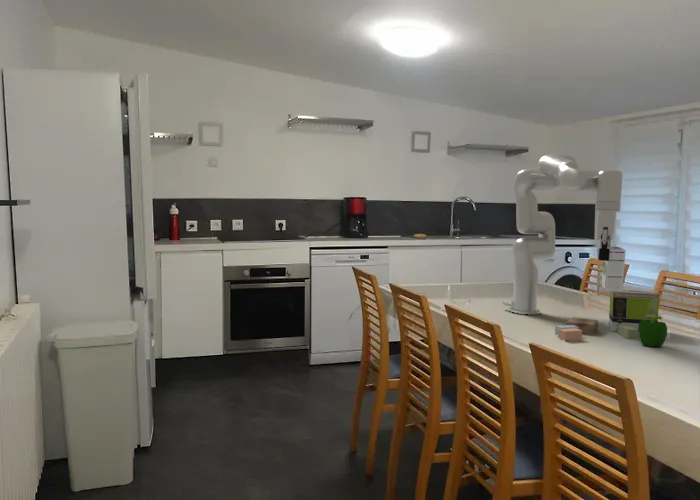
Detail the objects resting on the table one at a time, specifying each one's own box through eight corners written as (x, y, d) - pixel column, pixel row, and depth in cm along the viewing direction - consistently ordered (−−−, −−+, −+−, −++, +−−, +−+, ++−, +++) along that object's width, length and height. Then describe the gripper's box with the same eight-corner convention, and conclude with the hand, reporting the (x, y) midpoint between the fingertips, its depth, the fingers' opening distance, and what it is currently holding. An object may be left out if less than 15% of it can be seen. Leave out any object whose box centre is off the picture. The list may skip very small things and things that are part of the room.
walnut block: (566, 332, 202) (566, 321, 202) (571, 327, 210) (572, 317, 210) (592, 336, 198) (593, 324, 197) (597, 331, 205) (598, 320, 205)
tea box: (652, 329, 208) (654, 289, 207) (657, 335, 199) (660, 294, 198) (608, 325, 213) (610, 287, 212) (611, 331, 204) (613, 291, 202)
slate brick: (560, 337, 194) (560, 327, 193) (554, 335, 197) (555, 325, 197) (578, 337, 195) (579, 327, 194) (572, 334, 198) (573, 325, 198)
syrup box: (622, 291, 190) (627, 249, 187) (604, 290, 191) (608, 248, 188) (618, 287, 195) (621, 246, 193) (600, 286, 196) (603, 246, 194)
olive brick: (637, 339, 192) (638, 329, 192) (627, 339, 193) (627, 329, 192) (628, 334, 199) (628, 325, 199) (618, 334, 200) (618, 324, 199)
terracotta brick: (564, 341, 188) (565, 331, 188) (557, 339, 191) (558, 329, 191) (581, 340, 190) (582, 330, 190) (574, 338, 194) (575, 328, 193)
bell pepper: (631, 344, 185) (633, 314, 185) (646, 341, 189) (648, 312, 189) (655, 350, 178) (657, 319, 177) (671, 347, 182) (673, 316, 181)
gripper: (597, 206, 199) (594, 256, 201) (593, 206, 184) (590, 261, 186) (621, 206, 196) (617, 257, 198) (619, 207, 181) (615, 262, 183)
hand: (604, 259), depth 192 cm, fingers closed on syrup box, 6 cm apart
